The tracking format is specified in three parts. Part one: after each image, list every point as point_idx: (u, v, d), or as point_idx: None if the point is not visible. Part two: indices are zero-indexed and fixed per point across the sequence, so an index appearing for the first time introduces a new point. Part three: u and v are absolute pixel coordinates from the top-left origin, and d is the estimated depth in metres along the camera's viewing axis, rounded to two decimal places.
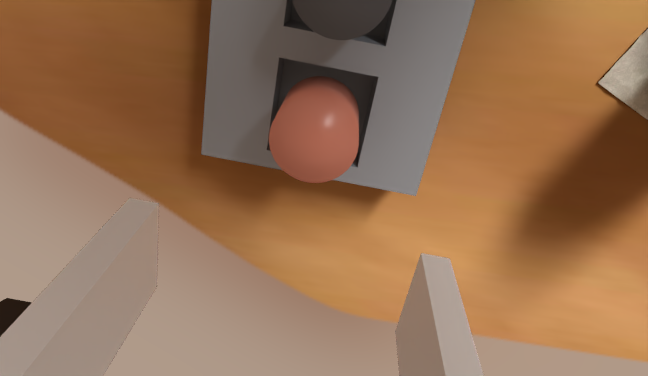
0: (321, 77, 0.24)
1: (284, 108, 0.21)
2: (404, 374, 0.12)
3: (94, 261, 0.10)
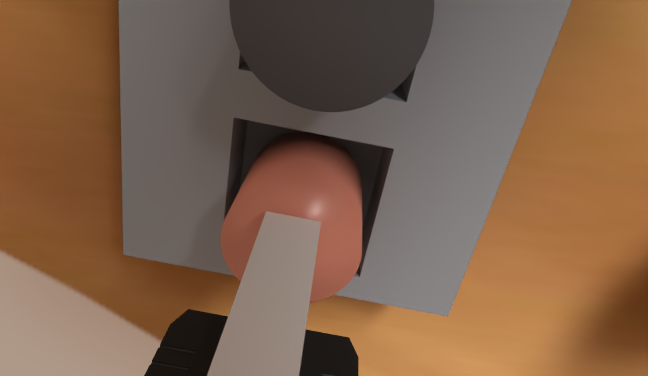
0: (306, 134, 0.16)
1: (242, 198, 0.13)
2: None
3: (263, 274, 0.10)
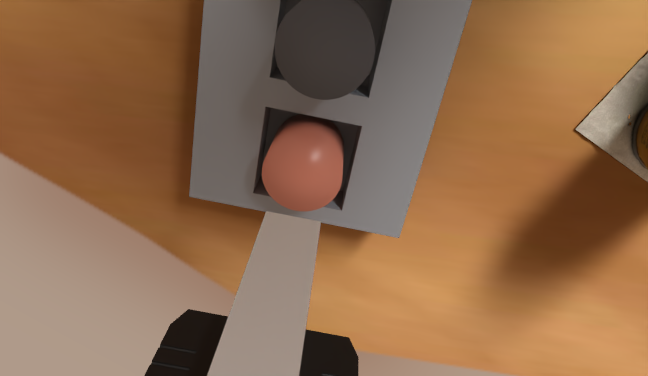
0: None
1: (275, 146, 0.23)
2: None
3: (264, 274, 0.10)
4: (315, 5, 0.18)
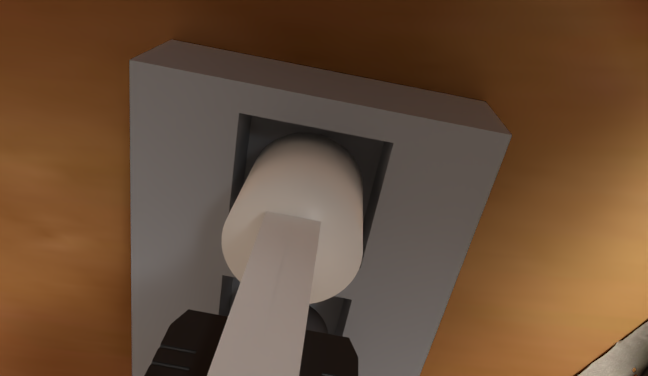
0: None
1: None
2: None
3: (264, 274, 0.10)
4: None
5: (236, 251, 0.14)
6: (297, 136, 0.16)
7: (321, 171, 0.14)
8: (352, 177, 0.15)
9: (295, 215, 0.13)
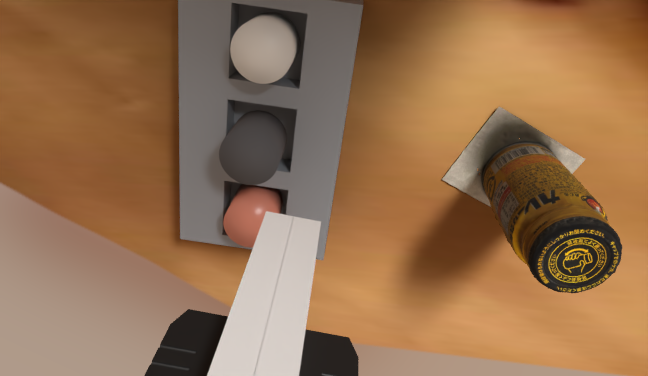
0: None
1: (230, 208, 0.36)
2: None
3: (263, 274, 0.10)
4: (240, 134, 0.31)
5: (237, 56, 0.31)
6: (264, 13, 0.33)
7: (273, 19, 0.31)
8: (290, 27, 0.32)
9: (261, 34, 0.30)
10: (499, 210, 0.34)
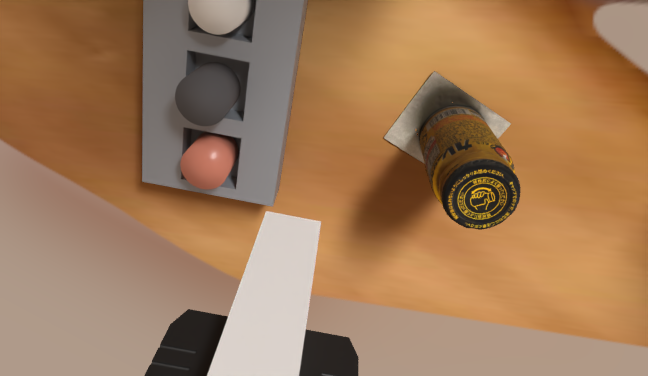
0: None
1: (187, 150, 0.39)
2: None
3: (264, 274, 0.10)
4: (194, 77, 0.35)
5: (194, 7, 0.34)
6: None
7: None
8: None
9: None
10: (426, 161, 0.38)
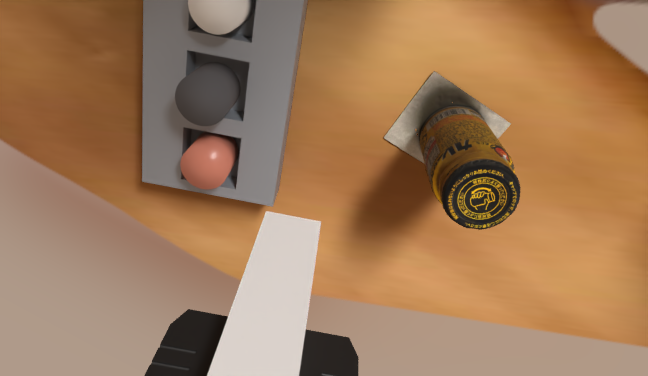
0: None
1: (187, 150, 0.39)
2: None
3: (264, 274, 0.10)
4: (194, 77, 0.35)
5: (194, 7, 0.34)
6: None
7: None
8: None
9: None
10: (426, 161, 0.38)
